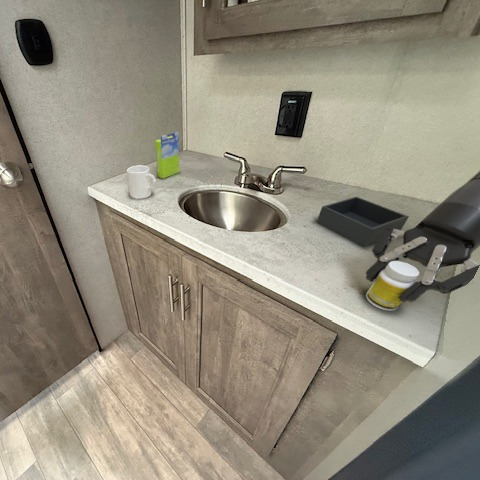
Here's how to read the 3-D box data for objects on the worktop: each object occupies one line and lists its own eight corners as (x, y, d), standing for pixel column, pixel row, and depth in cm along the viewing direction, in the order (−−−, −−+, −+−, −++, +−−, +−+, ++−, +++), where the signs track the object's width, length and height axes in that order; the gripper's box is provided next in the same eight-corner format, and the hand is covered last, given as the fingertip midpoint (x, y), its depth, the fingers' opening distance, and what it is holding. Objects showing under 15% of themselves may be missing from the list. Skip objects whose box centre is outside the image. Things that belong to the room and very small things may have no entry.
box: (173, 170, 112) (172, 130, 102) (180, 172, 109) (179, 131, 99) (156, 177, 106) (153, 135, 96) (162, 179, 103) (160, 136, 94)
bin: (349, 211, 73) (356, 196, 70) (398, 233, 63) (409, 216, 60) (316, 222, 69) (322, 206, 66) (363, 247, 59) (372, 229, 56)
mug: (149, 203, 85) (147, 176, 80) (125, 195, 92) (122, 170, 86) (163, 195, 90) (162, 169, 85) (140, 188, 97) (137, 163, 91)
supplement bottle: (397, 315, 43) (424, 282, 38) (364, 304, 46) (385, 270, 41) (396, 298, 46) (421, 265, 41) (366, 288, 49) (386, 255, 44)
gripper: (415, 187, 43) (340, 259, 46) (545, 225, 31) (433, 315, 35) (417, 207, 47) (349, 271, 51) (532, 247, 36) (434, 325, 40)
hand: (384, 289), depth 43 cm, fingers closed on supplement bottle, 4 cm apart
